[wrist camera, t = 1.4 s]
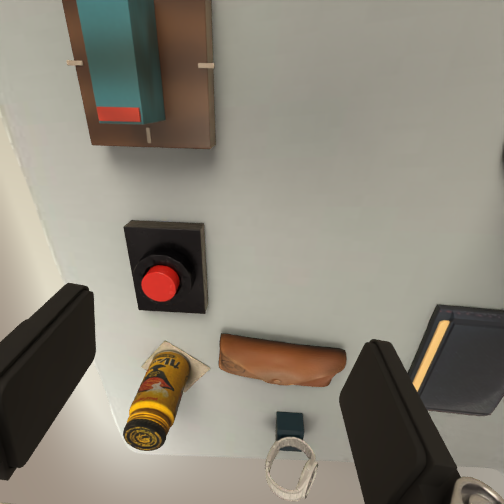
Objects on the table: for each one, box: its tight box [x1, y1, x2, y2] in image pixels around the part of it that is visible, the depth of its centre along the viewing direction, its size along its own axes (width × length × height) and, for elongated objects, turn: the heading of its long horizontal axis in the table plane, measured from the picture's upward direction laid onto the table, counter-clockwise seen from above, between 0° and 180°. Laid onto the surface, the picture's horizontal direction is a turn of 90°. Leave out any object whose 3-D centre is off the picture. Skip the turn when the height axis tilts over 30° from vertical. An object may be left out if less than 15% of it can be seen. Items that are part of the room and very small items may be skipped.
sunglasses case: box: [219, 333, 346, 387], centre depth 44 cm, size 18×7×7 cm
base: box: [62, 0, 216, 149], centre depth 28 cm, size 14×13×3 cm
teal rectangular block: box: [76, 0, 165, 125], centre depth 24 cm, size 9×4×6 cm, turn 179°
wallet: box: [408, 305, 504, 416], centre depth 43 cm, size 20×2×15 cm
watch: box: [265, 412, 318, 501], centre depth 48 cm, size 6×8×11 cm
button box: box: [124, 220, 208, 314], centre depth 38 cm, size 12×9×4 cm
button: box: [141, 265, 180, 301], centre depth 35 cm, size 4×4×2 cm
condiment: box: [123, 341, 210, 451], centre depth 43 cm, size 7×8×12 cm
